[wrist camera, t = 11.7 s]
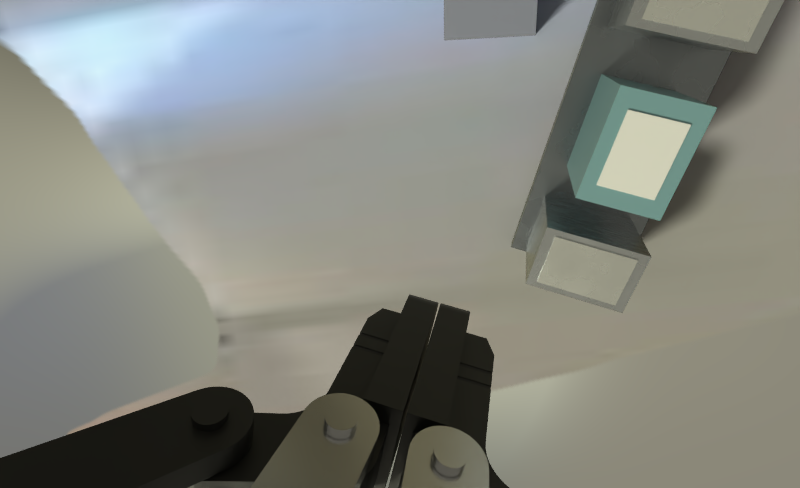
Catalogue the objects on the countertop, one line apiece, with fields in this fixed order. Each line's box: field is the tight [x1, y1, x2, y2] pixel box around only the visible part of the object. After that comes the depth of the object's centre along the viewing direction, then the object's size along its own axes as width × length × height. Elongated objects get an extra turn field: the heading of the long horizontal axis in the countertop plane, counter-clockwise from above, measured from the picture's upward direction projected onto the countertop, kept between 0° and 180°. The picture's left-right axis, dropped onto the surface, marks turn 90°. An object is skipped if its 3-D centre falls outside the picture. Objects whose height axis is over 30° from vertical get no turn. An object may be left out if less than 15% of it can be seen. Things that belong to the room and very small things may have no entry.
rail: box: [511, 0, 784, 313], centre depth 27 cm, size 20×8×7 cm, turn 168°
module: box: [567, 74, 717, 221], centre depth 27 cm, size 6×4×7 cm
